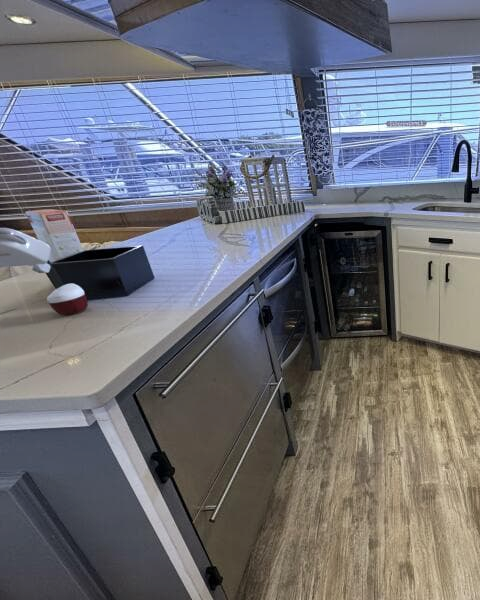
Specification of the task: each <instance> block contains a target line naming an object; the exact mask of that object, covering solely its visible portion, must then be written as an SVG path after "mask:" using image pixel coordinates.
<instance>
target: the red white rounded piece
mask: <svg viewBox="0 0 480 600" xmlns="http://www.w3.org/2000/svg"><path fill="white" fill-rule="evenodd" d="M47 264H49V265H50V266H51V268H50V271H49V272H48V273H45V275H46V277H47V278H48V279H49V282H50V283H51V284H52V286H53V288H54V290H53V291H52V292H51V293H50V294H49V295H48V296H47V297H46V302H47V303H48V305H49V306H50V308H51V309H52V310H53V311H55V313H56V314H58V315H62V316H72V315H76V314H79V313H82V312H83V311H85V310H86V309H87V308H88V306H89V302H88V301H89V300H87V297H86V295H85V293H84V291H83V289H82V288H81V287H79V286H78V285H76V284H73V283H71V284H66V285H64V283H63V282H62V280H61V279H60V277H59V275H58V274H57V272H56V271H55V269H54V267H53V266H52V264H51V263H50V261H49V260H48V262H47Z"/></svg>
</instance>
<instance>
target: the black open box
mask: <svg viewBox="0 0 480 600" xmlns="http://www.w3.org/2000/svg"><path fill="white" fill-rule="evenodd" d="M83 250H84V251H81V252H78V253H76V254H73V255H70V256H67V257H64V258H62V259H59V260H56V261H53V262H50V263H51V264H52V266H53V267H54V269H55V271H56V272H57V274H58V275H59V277H60V279H61V280H62V282H63V283H64V285H66V284H71V283H73V284H76V285H78V286H79V287H81V288H82V289H83V291H84V293H85V295H86V297H87V301H92V300H102V299H103V300H104V299H112V298H121V297H129V296H130V295H131V294H133V293H135V292H136V291H138V290H139V289H141V288H142V287H144V286H145V285H147V284H149V283H150V282H151V281H153V280H154V279H155V277H156V276H155V275H154V272H153V269H152V267H151V264H150V261H149V258H148V255H147V252H146V250H145V247H144V245H133V246H120V247H119V246H118V247H107V248H106V247H105V248H95V249H83Z"/></svg>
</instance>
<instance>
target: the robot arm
mask: <svg viewBox="0 0 480 600" xmlns="http://www.w3.org/2000/svg"><path fill="white" fill-rule="evenodd" d="M50 253H51V248H50V246H49V245H47V244H45V243H43V242H41V241H39V240H38V238H35V237H33V236H31V235H28V234H27V233H24V232H21V231H18V230H15V229H13V228H8V227H0V268H6V267H8V268H9V267H21V266H23V267H25V266H28V267H32V269H31V270H32V271H33V272H36V273H37V274H46V273H48V272H49V271H50V268H51V266H50V265H49V264H47V262H48V259H49V257H50Z"/></svg>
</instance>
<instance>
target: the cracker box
mask: <svg viewBox="0 0 480 600" xmlns="http://www.w3.org/2000/svg"><path fill="white" fill-rule="evenodd" d="M25 215H26V218H27V220H28V221H29V223H30V226H31V227H32V230H33V232H34V233H35V235H36V239H37V240H39V241H41V242H43V243H45V244H47V245H49V246H50V248H51V253H50V257H49V259H48V260H49V261H50V262H53V261H56V260H59V259H62V258H64V257H67V256H70V255H73V254H76V253H78V252H81V251H84V250H85V249H84V247H83V246H82V243H81V241H80V239H79V236H78V234H77V231H76V229H75V227H74V224H73V222H72V220H71V217H70V215H69V212H68V210H62V209H53V208H47V209H45V208H44V209H35V210H27V211H25Z"/></svg>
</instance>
